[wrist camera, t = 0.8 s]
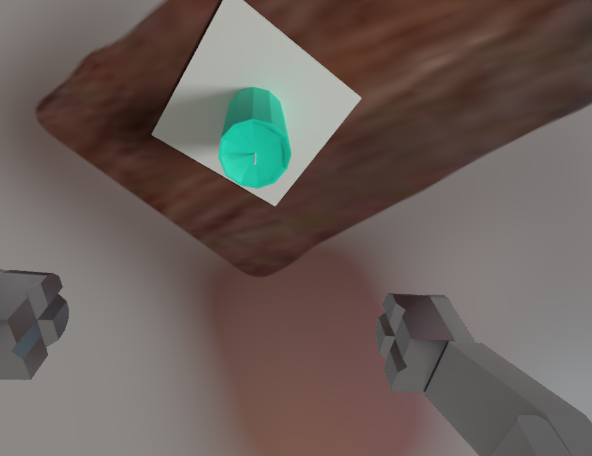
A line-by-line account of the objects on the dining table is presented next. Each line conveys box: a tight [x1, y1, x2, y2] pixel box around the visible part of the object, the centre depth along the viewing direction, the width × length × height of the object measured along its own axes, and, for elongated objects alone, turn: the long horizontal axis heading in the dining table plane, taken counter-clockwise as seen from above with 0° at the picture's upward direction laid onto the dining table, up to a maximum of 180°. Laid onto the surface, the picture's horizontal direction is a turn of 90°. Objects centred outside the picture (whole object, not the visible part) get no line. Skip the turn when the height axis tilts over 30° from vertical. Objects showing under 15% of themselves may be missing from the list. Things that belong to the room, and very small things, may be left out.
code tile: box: [151, 0, 361, 206], centre depth 38 cm, size 16×16×1 cm
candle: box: [218, 87, 292, 189], centre depth 32 cm, size 6×6×12 cm
